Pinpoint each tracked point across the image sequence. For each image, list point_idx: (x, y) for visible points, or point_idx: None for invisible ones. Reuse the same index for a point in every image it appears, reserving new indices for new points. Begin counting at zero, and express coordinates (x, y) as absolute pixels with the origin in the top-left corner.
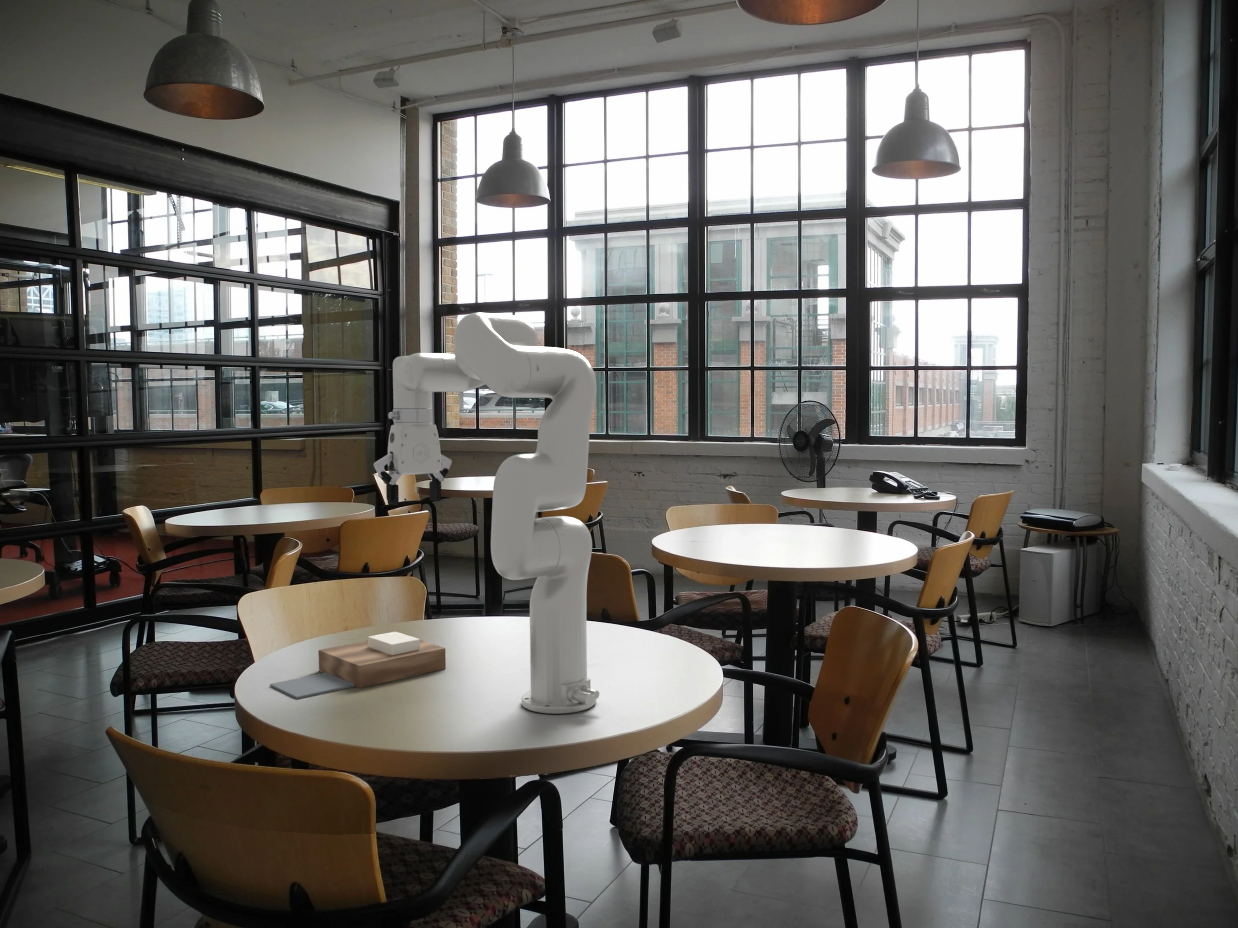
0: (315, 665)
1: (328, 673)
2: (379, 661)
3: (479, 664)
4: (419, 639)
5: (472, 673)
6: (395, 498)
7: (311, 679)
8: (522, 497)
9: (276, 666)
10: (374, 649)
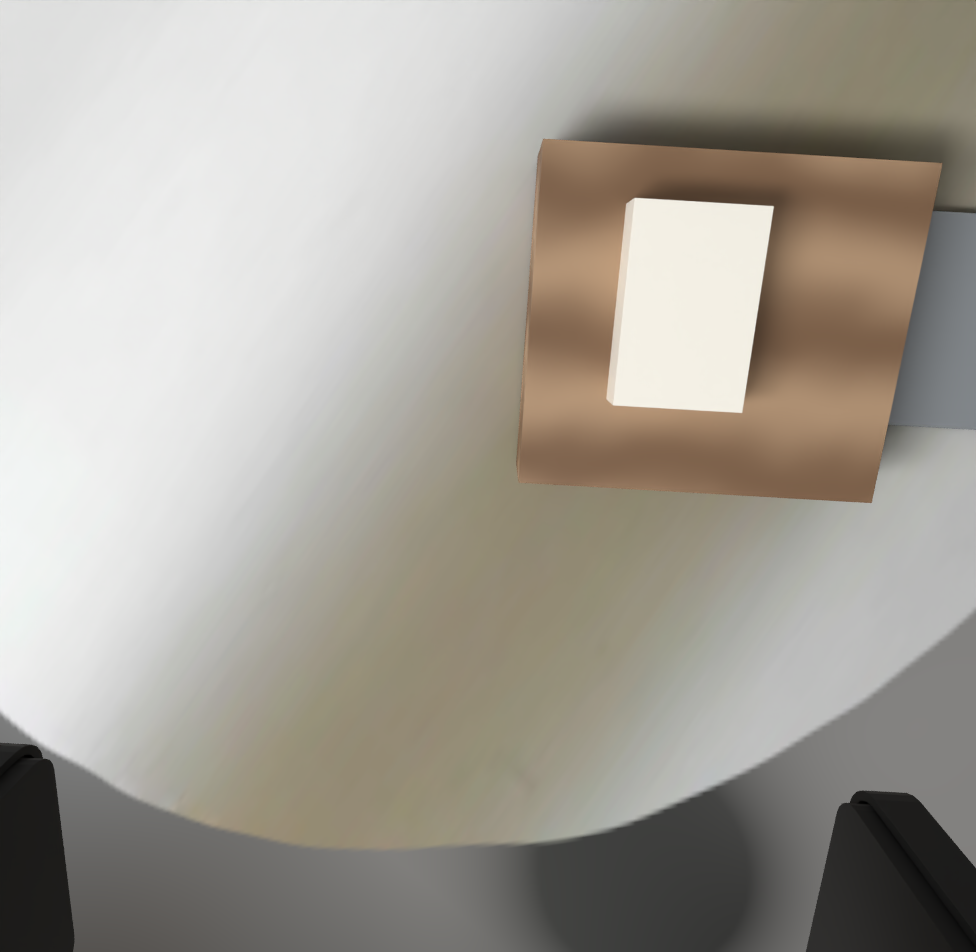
0: (789, 558)
1: None
2: (852, 160)
3: (402, 119)
4: (636, 198)
5: (501, 26)
6: (970, 881)
7: (939, 379)
8: None
9: (871, 637)
10: None
